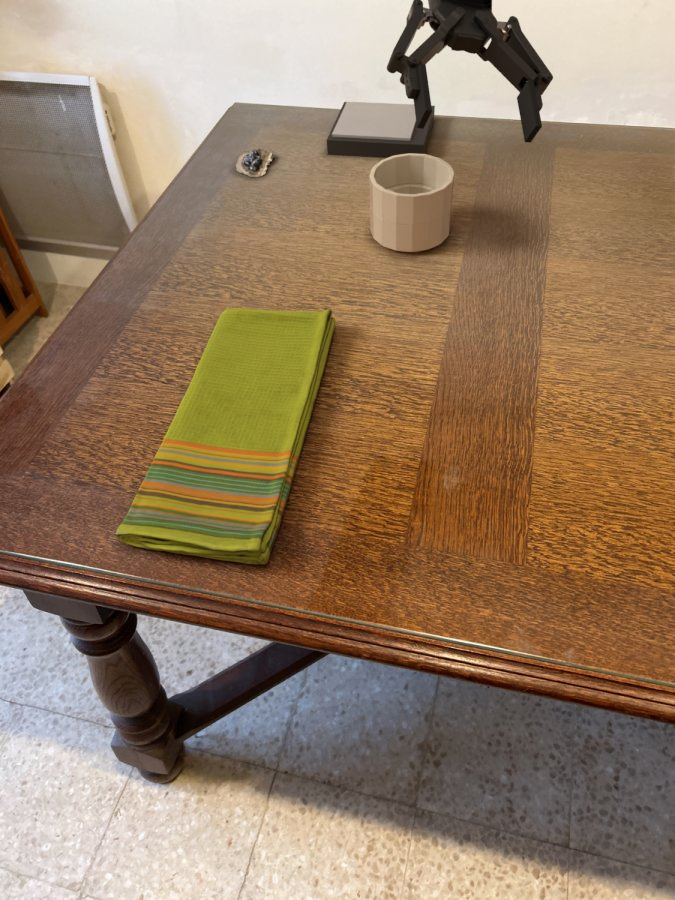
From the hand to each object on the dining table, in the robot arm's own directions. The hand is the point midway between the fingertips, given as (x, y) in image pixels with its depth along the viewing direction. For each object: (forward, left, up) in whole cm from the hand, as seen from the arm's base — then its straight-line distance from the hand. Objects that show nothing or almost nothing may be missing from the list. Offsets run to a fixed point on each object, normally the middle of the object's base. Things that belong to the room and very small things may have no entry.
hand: (480, 127), depth 81 cm
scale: (+18, -36, -19) cm, 44 cm away
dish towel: (+22, +32, -19) cm, 44 cm away
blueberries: (+37, -24, -20) cm, 48 cm away
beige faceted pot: (+9, -8, -19) cm, 23 cm away
